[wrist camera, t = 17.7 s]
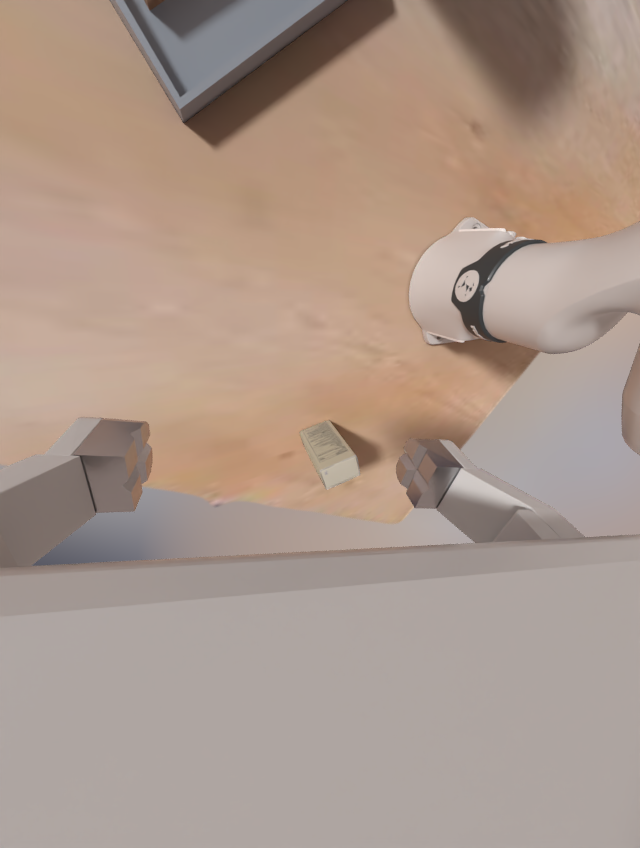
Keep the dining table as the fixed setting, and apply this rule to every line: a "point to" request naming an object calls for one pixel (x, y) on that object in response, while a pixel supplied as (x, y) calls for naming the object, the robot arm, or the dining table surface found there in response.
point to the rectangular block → (152, 3)
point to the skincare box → (330, 454)
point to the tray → (214, 41)
